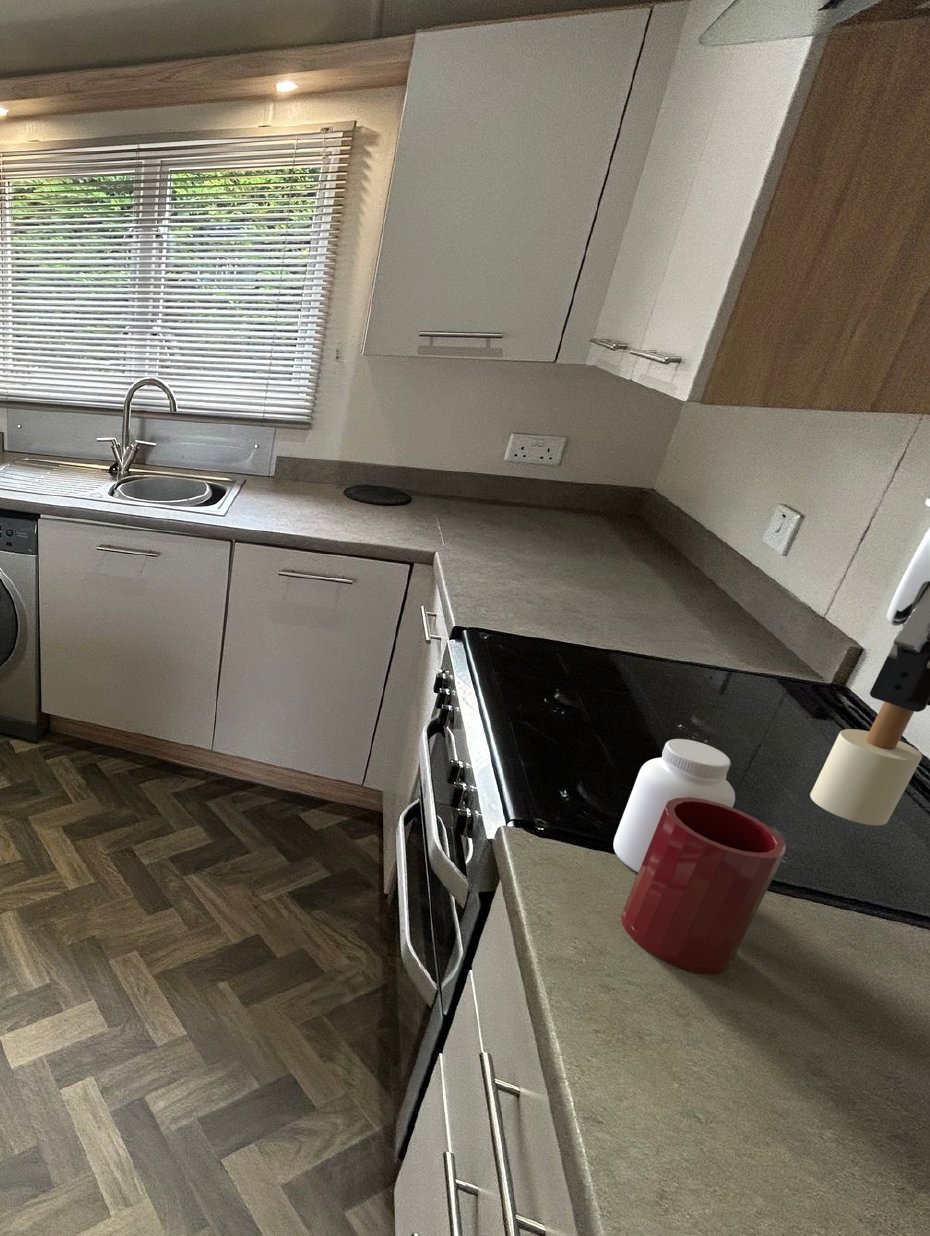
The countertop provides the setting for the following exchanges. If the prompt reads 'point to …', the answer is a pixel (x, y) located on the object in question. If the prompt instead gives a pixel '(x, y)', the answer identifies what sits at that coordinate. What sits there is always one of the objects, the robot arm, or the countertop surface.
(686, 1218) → the countertop surface
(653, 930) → the red faceted pen holder
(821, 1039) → the countertop surface
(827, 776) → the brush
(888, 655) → the robot arm
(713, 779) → the pill bottle
